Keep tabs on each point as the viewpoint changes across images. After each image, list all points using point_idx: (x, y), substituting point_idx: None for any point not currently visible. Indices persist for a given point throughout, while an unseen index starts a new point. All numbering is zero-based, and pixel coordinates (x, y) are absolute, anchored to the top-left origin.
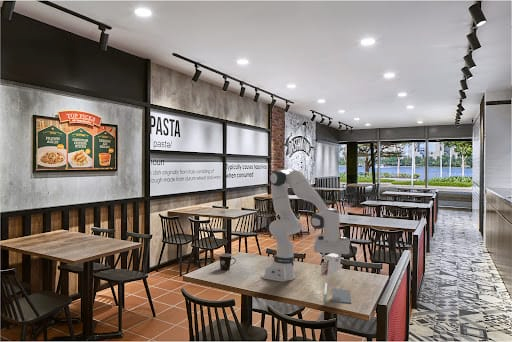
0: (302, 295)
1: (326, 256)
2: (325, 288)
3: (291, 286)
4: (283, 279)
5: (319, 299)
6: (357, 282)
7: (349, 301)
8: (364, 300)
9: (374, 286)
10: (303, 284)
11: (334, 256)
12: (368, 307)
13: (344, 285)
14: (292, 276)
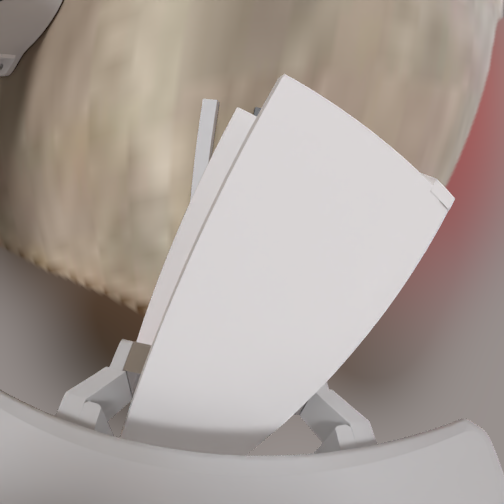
0: (90, 232)
1: (146, 439)
2: None
3: (37, 121)
4: (6, 66)
5: None
6: (410, 10)
7: None
8: None
9: (465, 76)
10: (89, 65)
11: (271, 402)
12: None
13: (339, 39)
14: (39, 19)
